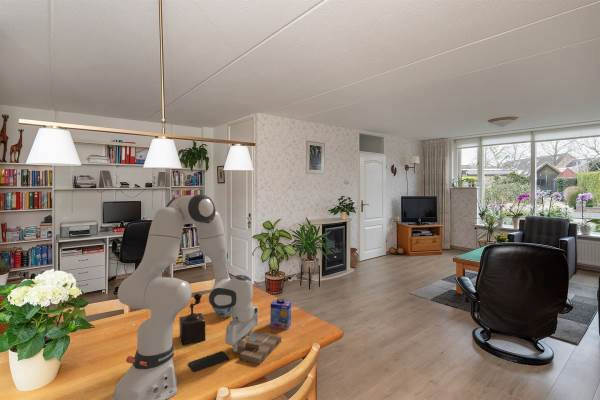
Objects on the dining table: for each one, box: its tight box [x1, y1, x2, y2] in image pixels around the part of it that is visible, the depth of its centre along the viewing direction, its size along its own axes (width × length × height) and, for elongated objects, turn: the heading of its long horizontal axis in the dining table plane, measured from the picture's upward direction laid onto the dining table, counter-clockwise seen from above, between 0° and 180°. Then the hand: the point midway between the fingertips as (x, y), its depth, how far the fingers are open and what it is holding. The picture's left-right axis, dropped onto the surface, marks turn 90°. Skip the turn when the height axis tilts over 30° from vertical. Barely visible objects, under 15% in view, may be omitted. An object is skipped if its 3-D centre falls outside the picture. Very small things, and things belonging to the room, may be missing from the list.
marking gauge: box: [234, 336, 261, 354], centre depth 129 cm, size 4×11×6 cm, turn 68°
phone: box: [187, 350, 230, 373], centre depth 122 cm, size 7×1×15 cm
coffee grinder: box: [178, 292, 207, 346], centre depth 142 cm, size 16×11×18 cm
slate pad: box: [245, 331, 263, 342], centre depth 141 cm, size 10×11×1 cm
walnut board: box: [239, 332, 282, 366], centre depth 131 cm, size 20×9×3 cm, turn 158°
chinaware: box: [211, 305, 232, 318], centre depth 166 cm, size 15×15×8 cm
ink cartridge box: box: [269, 298, 292, 330], centre depth 154 cm, size 10×6×14 cm, turn 78°
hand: (242, 345), depth 130 cm, fingers open, 8 cm apart
